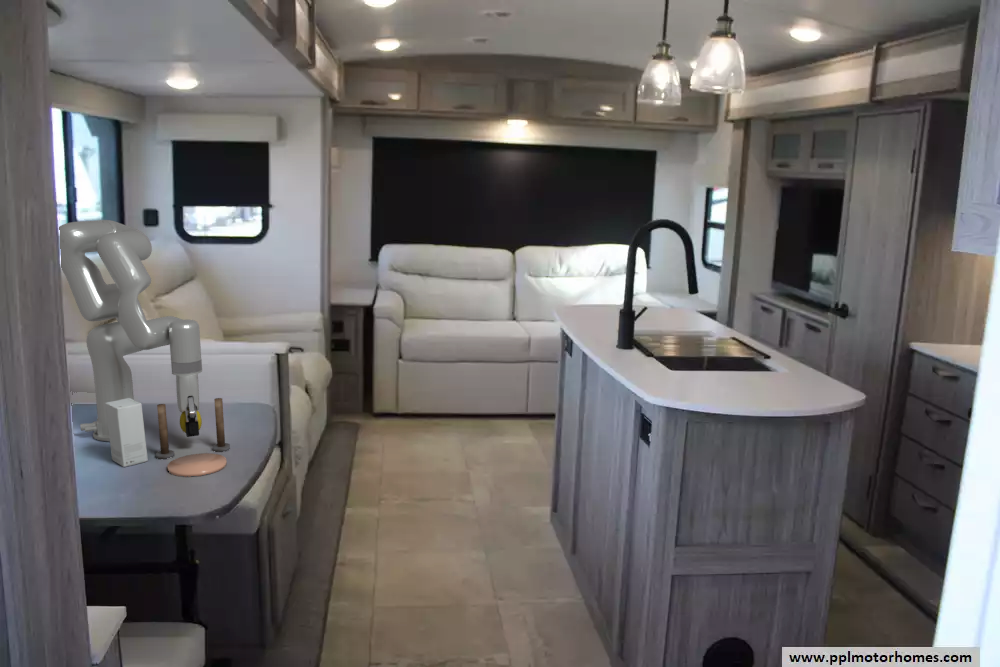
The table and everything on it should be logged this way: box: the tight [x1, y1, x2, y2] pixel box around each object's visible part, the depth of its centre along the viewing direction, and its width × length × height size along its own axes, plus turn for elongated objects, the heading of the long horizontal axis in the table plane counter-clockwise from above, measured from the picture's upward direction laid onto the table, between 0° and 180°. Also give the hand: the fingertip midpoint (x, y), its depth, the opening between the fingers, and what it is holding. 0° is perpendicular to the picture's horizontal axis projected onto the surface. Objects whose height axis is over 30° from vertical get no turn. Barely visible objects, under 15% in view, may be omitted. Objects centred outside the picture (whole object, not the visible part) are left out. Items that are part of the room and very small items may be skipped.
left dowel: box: [155, 403, 175, 460], centre depth 213 cm, size 4×4×14 cm
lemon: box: [179, 408, 203, 434], centre depth 219 cm, size 6×6×8 cm
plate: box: [167, 452, 228, 478], centre depth 207 cm, size 14×14×1 cm
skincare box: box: [105, 398, 149, 468], centre depth 209 cm, size 8×7×16 cm
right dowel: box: [212, 397, 231, 453], centre depth 219 cm, size 4×4×14 cm
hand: (191, 431), depth 220 cm, fingers closed on lemon, 5 cm apart
